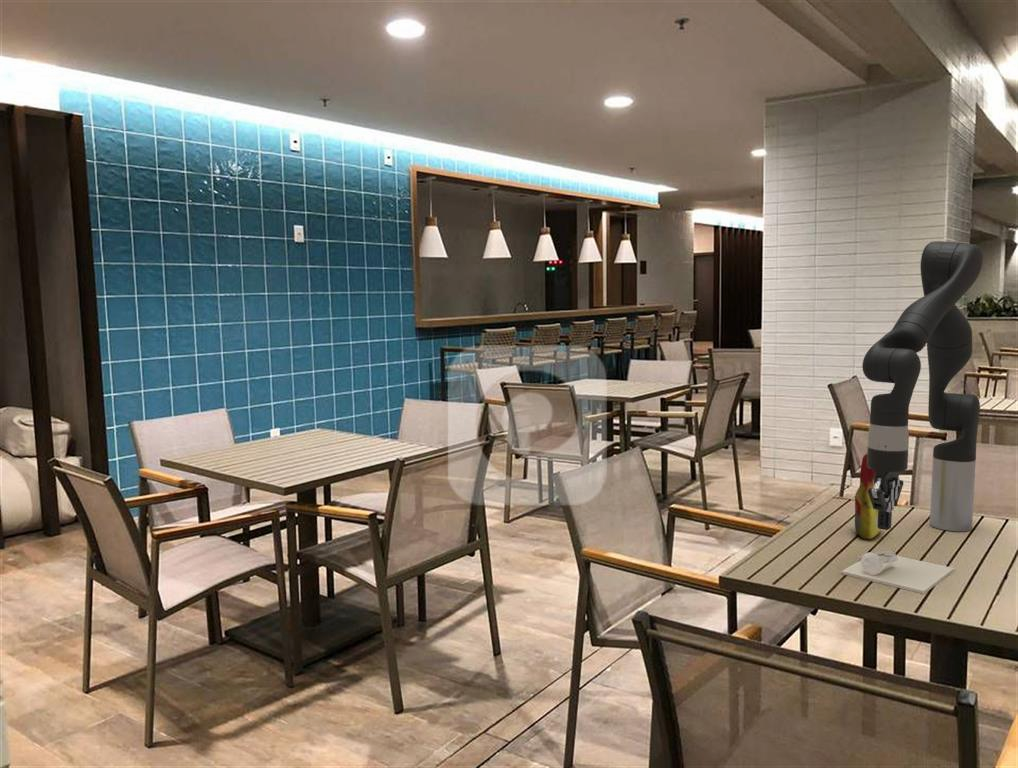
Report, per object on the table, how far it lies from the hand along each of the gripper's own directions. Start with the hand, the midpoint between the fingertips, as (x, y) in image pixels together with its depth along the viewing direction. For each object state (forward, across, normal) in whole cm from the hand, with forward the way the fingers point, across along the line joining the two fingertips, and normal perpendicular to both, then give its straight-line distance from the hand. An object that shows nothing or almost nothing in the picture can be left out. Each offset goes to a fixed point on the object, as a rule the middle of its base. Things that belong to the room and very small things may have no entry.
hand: (884, 528), depth 165 cm
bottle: (+10, +25, +13) cm, 30 cm away
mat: (+10, +3, -2) cm, 10 cm away
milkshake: (+7, +4, 0) cm, 8 cm away
